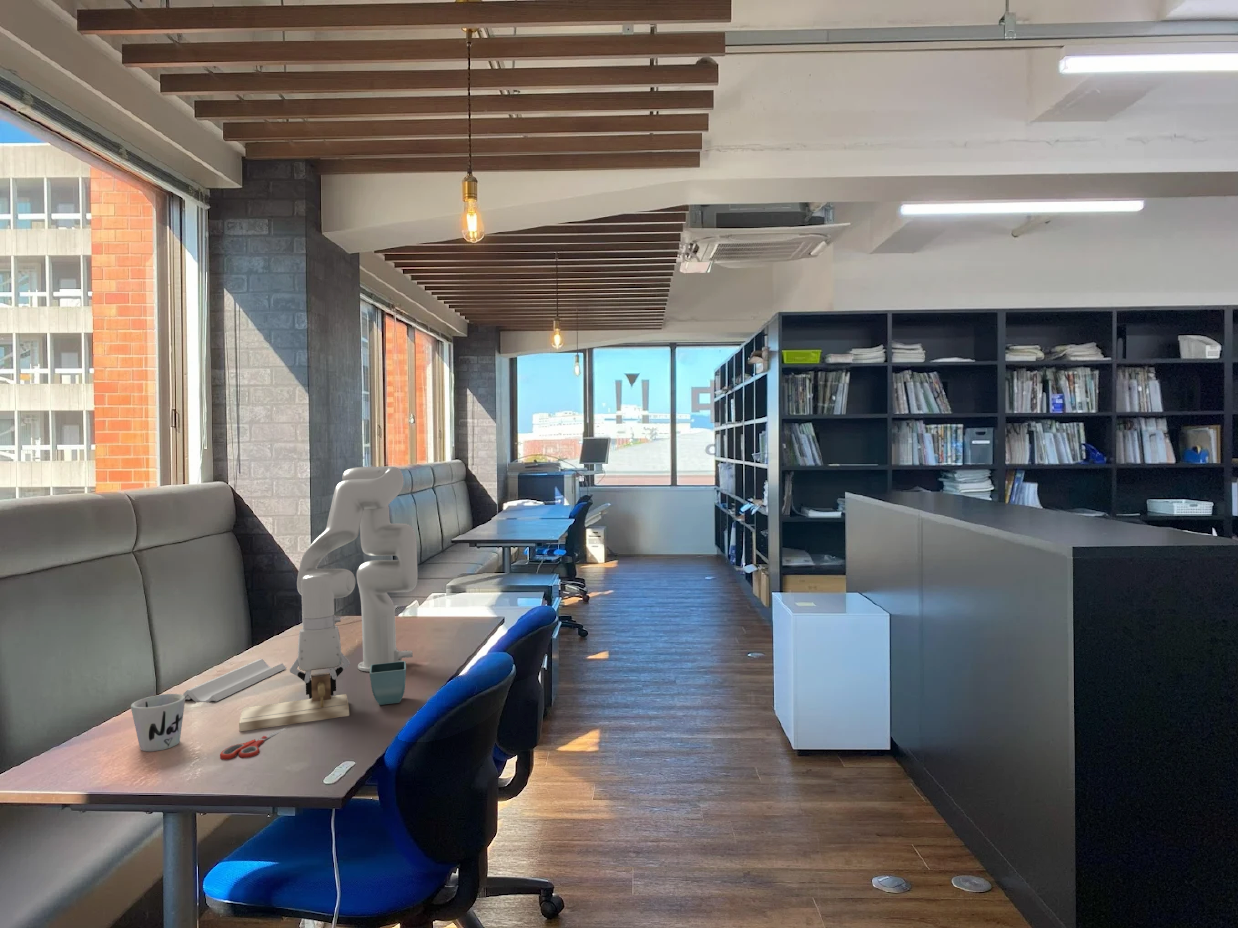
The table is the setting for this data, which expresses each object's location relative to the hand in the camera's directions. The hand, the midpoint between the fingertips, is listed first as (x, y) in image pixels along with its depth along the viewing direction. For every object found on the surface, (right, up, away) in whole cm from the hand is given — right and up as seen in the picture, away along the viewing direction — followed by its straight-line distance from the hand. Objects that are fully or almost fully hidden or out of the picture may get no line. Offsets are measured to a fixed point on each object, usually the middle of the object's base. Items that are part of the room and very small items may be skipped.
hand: (321, 694), depth 199 cm
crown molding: (-33, -5, +23) cm, 41 cm away
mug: (-28, -4, -23) cm, 37 cm away
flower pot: (+16, -3, +2) cm, 17 cm away
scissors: (-5, -4, -23) cm, 24 cm away
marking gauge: (+1, -2, -3) cm, 4 cm away
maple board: (-4, -3, -7) cm, 8 cm away
